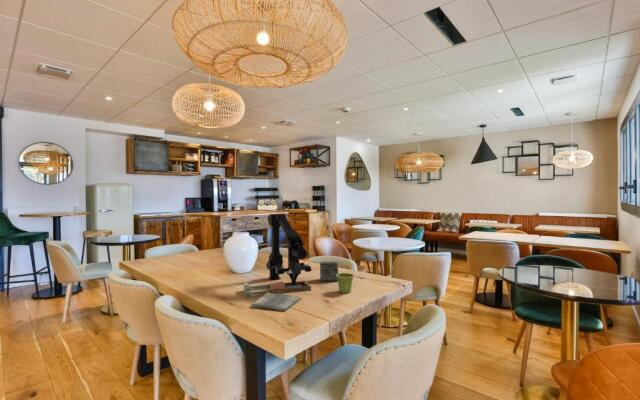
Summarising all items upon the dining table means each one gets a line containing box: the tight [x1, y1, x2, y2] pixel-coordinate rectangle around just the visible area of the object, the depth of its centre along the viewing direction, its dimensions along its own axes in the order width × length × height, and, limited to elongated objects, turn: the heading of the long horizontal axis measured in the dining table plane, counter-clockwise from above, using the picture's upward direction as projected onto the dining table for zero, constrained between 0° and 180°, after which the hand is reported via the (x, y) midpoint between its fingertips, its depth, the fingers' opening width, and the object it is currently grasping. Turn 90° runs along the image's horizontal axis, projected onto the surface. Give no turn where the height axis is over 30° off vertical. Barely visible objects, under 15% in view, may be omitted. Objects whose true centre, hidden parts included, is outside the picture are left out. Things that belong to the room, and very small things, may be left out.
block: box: [269, 280, 286, 290], centre depth 170 cm, size 7×7×4 cm
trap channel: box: [243, 280, 312, 298], centre depth 170 cm, size 12×34×4 cm, turn 109°
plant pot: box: [336, 272, 355, 294], centre depth 166 cm, size 9×9×9 cm
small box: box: [319, 261, 339, 283], centre depth 189 cm, size 11×6×10 cm, turn 84°
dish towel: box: [250, 292, 302, 313], centre depth 150 cm, size 19×18×3 cm
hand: (293, 285), depth 173 cm, fingers closed
